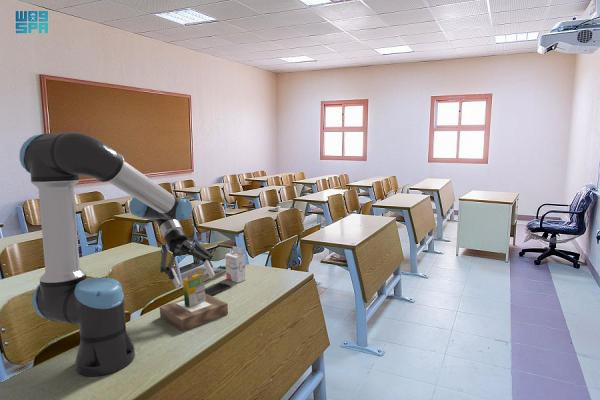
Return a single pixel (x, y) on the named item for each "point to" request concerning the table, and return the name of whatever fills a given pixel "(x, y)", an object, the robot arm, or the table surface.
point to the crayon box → (194, 289)
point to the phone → (217, 289)
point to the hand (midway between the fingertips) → (196, 281)
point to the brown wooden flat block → (193, 312)
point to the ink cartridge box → (235, 265)
